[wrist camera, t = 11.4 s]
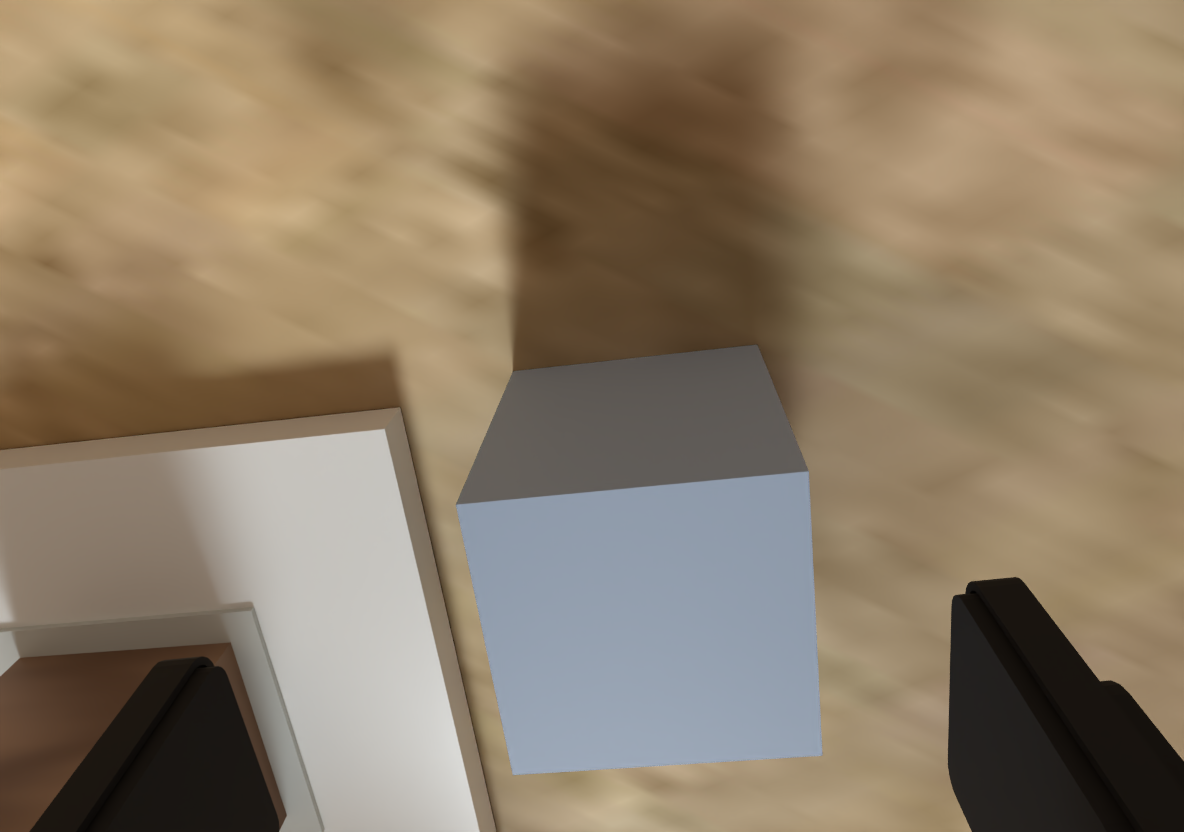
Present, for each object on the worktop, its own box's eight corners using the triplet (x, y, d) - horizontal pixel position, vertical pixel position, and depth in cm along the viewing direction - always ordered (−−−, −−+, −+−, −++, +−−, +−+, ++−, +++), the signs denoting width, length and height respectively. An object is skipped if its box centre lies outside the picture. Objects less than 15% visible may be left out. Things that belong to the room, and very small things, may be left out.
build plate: (400, 407, 19) (382, 431, 17) (510, 892, 24) (502, 938, 22) (-199, 471, 20) (-255, 498, 19) (25, 916, 25) (-7, 961, 24)
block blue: (756, 343, 18) (808, 471, 12) (771, 558, 20) (822, 755, 14) (513, 370, 18) (456, 505, 13) (549, 577, 20) (512, 775, 14)
